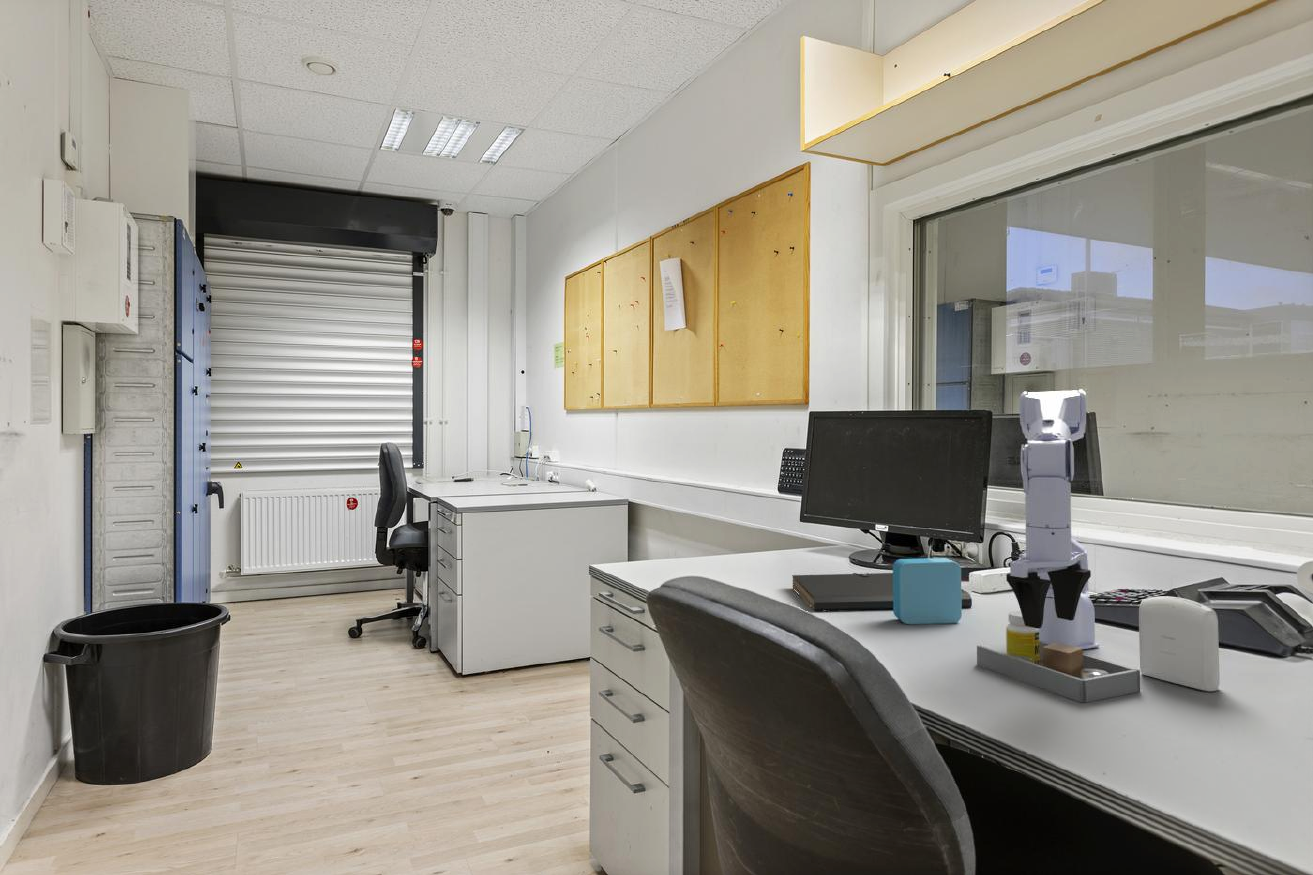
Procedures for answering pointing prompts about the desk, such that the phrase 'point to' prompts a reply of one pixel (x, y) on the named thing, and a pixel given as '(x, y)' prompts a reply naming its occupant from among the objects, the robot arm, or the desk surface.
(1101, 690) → the bay
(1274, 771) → the desk surface
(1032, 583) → the robot arm
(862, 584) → the file folder
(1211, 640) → the photo printer
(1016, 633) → the supplement bottle
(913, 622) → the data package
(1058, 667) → the walnut block
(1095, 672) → the metal cylinder
